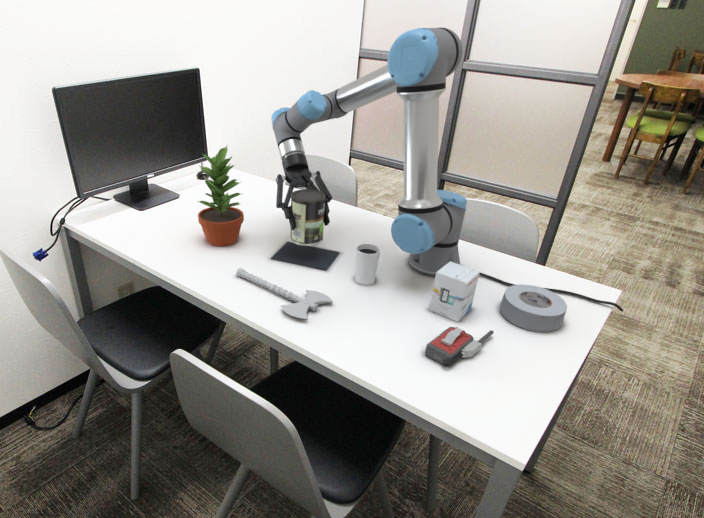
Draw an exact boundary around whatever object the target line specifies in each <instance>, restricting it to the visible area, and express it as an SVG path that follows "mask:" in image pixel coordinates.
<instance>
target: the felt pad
mask: <svg viewBox="0 0 704 518" xmlns="http://www.w3.org/2000/svg"><path fill="white" fill-rule="evenodd" d="M340 253H341V252H340V251H336V250H332V249H327V248H322V247H317V246H302V245H298V244H295V243H293V242H292V241H286V243H284V244H283V245H282V247H280V248H279V249H278V250H277V252H275V253H274V254H273V255H272V256H271V257H270V260H274V261H279V262H284V263H287V264H288V263H289V264H292V265H298V266H301V267H306V268H311V269H316V270H320V271H324V272H327V271H328V270H329V268H330V267H331V265H332V264H333V263H334V261H335V260H336V258H337V257H338V256H339V254H340Z"/></svg>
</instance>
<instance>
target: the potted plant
mask: <svg viewBox="0 0 704 518" xmlns="http://www.w3.org/2000/svg"><path fill="white" fill-rule="evenodd" d="M228 150H229V149H228V145H226V146H225V147H222V148H220V149H219V150H218V152H217V153H216V154H215V156H213V157H210V156H209V155H208V154H203V157H204V158H205V159H206V160H207V161H208V162H209V164H210V167H208V166H201V165H200V164H199V167H200V170H201V171H202V172H203V173H205V174H206V175H207V176H208V177H209V178H210V179H208V178H207V177H206V176H203V178H204V179H205V180H204V182H205V184H206V186H207V187H208V189H209V190H210V193H211V194H210V193H207V192H206V193H205V194H204V195H205V196H208V197H210V198H211V199H212V201H211V202H209V201H205V200H197V202H198V203H200V204H202V205H204V206H206V207H207V208H204V209H202V210H200V211H198V214H197V220H198V224H199V225H200V226H201V230H202V232H203V235H204V237H205V239H206V242H207V244H209V245H211V246H214V247H229V246H232V245H235V244H236V243H237V242H238V240H239V236H240V232H241V227H242V225H243V222H244V221H245V215H244V211H242V210H241V209H239V208H237V207H235V206H240V205H241V203H240V202H238V201H237V202H231V199H234V198H236V197H238V196H241V195H243V194H244V193H240V192H234V193H231V194H229V192H228V191H229V190H231V189H233V188H234V187H236V186H238V185H240V184H241V183H242V181H240V182H238V179H237V178H234V179H231V180H229V179H230V176H229V175H228V173H229V172H230V170H231V169H233V168H234V167H235V166H236V164H233V165H231V163H230V162H231V159H232V158H233V156H230V157H229V158H226V157H227V153H228ZM228 163H229V164H228ZM226 192H227V193H226ZM225 193H226V194H225Z"/></svg>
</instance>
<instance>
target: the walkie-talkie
mask: <svg viewBox="0 0 704 518" xmlns="http://www.w3.org/2000/svg"><path fill="white" fill-rule="evenodd" d="M494 333H495V332H494V330H492V329H490V330H489V331H488V332H486V333H485V334H484V335H483V336H482V337H481V338H479V339H478V340H474V339H475V338H474V336H473V335H471V334H469V333H468V332H466V331H465V330H464V329H462V328H459V327H458V326H449V327H447V328H446V329H445V330H443V331H442V332H441V333H439V335H437V336H436V337H435V338H433V339H432V340H431V341H430V342H428V343H427V344H426V346H425V350H424V355H425V356H427V357H428V358H430V359H432V360H434V362H435V361H436V362H438V363H439V364H441V365H443V366H445V367H449V366H451V365H452V364H454V362H456V361H457V360H458V359H459V358H461V359H464V358H465V359H466V358H472V357H473V356H474V355H476V354H477V353H478V352H480V351H481V349H482V345H483V344H484V343H485V342H486V341H487V340H488V339H489V338H490V337H491V336H493V334H494Z"/></svg>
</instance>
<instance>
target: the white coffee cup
mask: <svg viewBox="0 0 704 518" xmlns="http://www.w3.org/2000/svg"><path fill="white" fill-rule="evenodd" d="M380 254H381V248H380V247H379V246H378V245H376V244H373V243H360V244H358V245H357V246H356V249H355V270H354V281H355V282H356V283H357V284H359V285H363V286H370V285H373V284H374V283H375V282H376V277H377V272H378V271H377V270H378V265H379V259H380Z"/></svg>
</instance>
